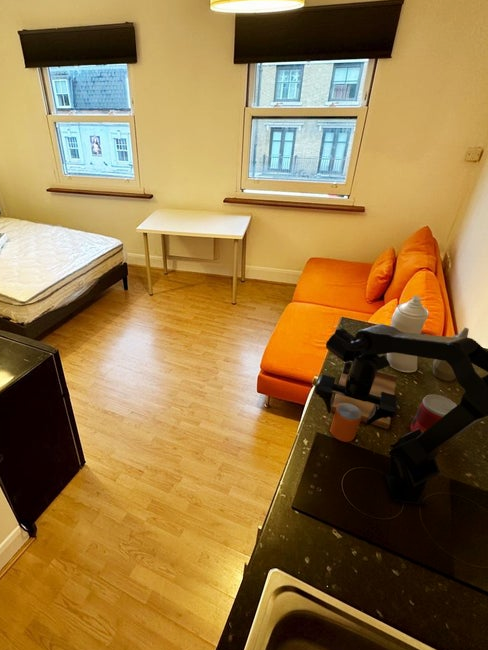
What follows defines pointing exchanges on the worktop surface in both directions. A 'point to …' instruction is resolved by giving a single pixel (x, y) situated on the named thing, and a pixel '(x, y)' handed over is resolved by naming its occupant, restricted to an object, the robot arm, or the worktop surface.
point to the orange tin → (346, 422)
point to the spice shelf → (363, 409)
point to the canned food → (431, 411)
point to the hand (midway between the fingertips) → (347, 418)
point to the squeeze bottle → (442, 367)
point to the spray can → (407, 331)
